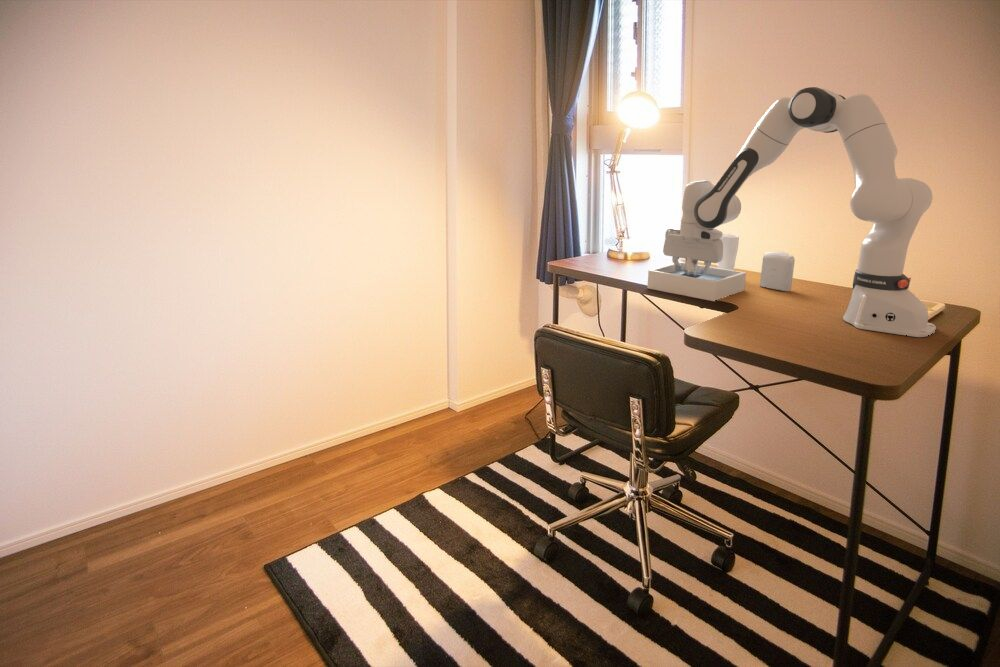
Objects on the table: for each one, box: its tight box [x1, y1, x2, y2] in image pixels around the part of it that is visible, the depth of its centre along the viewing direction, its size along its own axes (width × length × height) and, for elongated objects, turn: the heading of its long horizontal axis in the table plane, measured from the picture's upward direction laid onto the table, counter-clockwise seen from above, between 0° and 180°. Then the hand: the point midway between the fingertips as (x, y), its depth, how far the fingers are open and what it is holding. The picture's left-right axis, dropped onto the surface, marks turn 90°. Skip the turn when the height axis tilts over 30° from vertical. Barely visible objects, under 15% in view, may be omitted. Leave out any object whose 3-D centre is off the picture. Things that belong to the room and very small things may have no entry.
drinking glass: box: [716, 233, 740, 271], centre depth 247 cm, size 7×7×15 cm
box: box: [646, 261, 747, 302], centre depth 233 cm, size 24×20×6 cm
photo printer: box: [759, 250, 796, 292], centre depth 234 cm, size 10×4×12 cm, turn 39°
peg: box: [684, 257, 699, 278], centre depth 237 cm, size 4×4×10 cm
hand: (690, 272), depth 237 cm, fingers open, 8 cm apart
